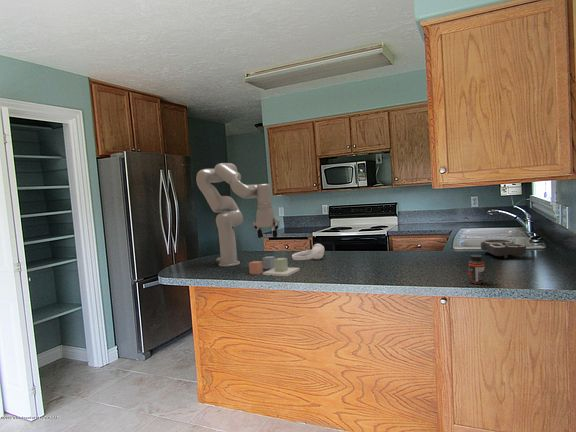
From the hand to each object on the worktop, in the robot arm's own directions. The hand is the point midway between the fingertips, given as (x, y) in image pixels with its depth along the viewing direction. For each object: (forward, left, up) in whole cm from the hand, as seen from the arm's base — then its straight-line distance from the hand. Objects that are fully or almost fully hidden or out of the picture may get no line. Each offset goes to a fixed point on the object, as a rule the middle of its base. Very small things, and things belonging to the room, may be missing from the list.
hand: (267, 237), depth 223 cm
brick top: (0, -13, -17) cm, 21 cm away
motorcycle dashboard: (+112, +52, -17) cm, 125 cm away
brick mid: (0, 0, -17) cm, 17 cm away
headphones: (+9, +30, -17) cm, 36 cm away
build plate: (+13, -9, -17) cm, 23 cm away
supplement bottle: (+105, -8, -17) cm, 106 cm away
